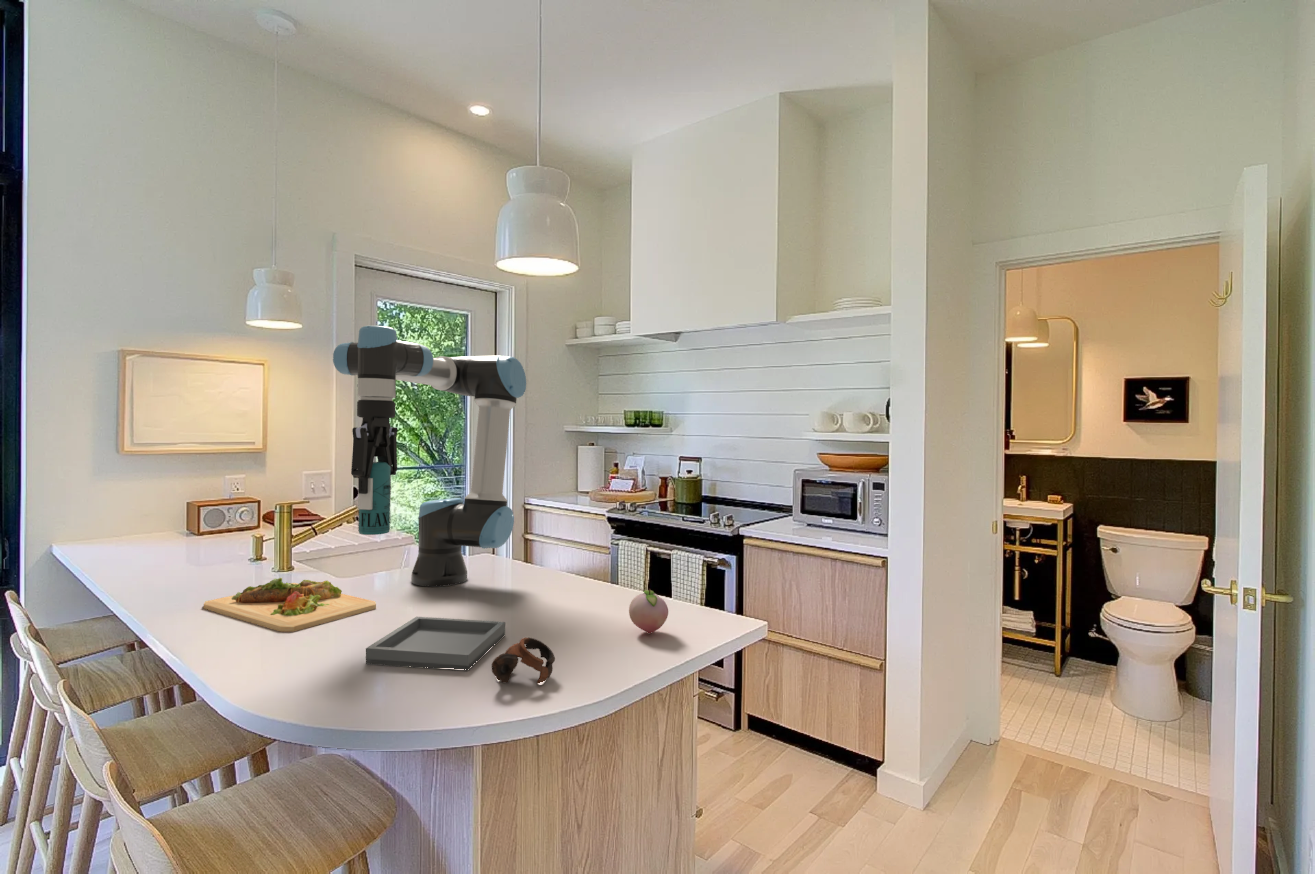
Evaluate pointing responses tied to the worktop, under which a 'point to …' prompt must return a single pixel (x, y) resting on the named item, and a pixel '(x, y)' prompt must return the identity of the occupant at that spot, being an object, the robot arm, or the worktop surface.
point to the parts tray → (436, 643)
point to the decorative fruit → (648, 611)
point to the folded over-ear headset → (523, 659)
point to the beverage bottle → (378, 500)
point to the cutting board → (290, 605)
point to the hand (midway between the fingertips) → (374, 506)
